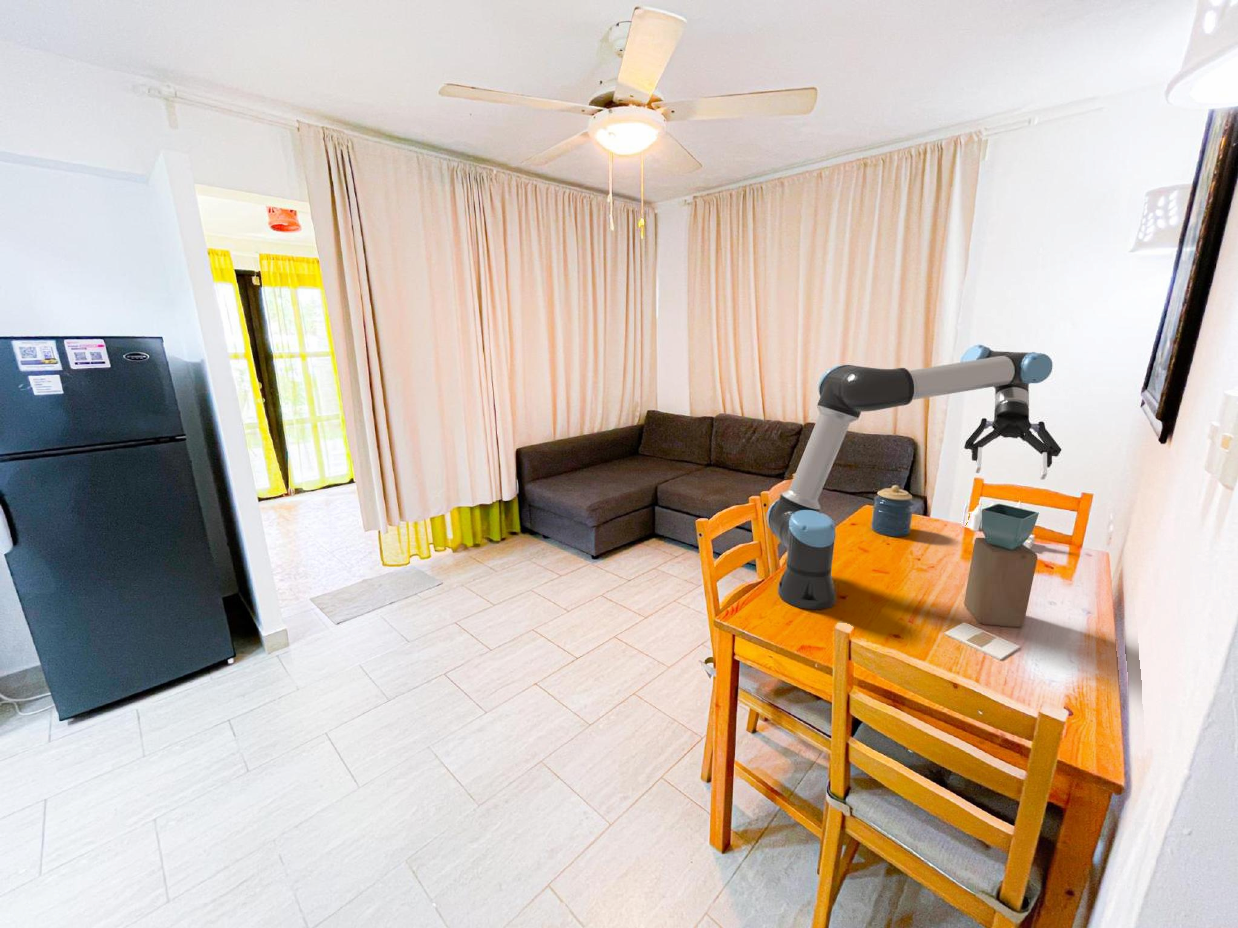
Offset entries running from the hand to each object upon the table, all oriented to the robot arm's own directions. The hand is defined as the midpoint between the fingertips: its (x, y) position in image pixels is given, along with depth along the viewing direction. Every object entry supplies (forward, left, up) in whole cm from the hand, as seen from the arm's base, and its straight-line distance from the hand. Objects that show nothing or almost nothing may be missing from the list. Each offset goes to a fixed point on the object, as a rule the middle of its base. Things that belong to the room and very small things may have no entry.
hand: (1010, 473), depth 130 cm
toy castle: (-20, +54, -36) cm, 68 cm away
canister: (-44, +25, -36) cm, 62 cm away
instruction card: (+9, -23, -36) cm, 44 cm away
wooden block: (+5, -9, -36) cm, 38 cm away
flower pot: (+5, -10, -16) cm, 20 cm away
